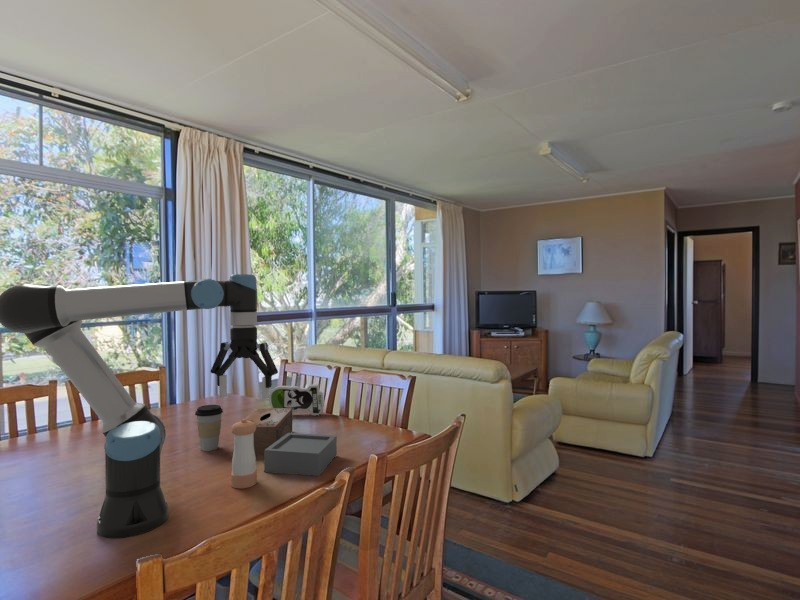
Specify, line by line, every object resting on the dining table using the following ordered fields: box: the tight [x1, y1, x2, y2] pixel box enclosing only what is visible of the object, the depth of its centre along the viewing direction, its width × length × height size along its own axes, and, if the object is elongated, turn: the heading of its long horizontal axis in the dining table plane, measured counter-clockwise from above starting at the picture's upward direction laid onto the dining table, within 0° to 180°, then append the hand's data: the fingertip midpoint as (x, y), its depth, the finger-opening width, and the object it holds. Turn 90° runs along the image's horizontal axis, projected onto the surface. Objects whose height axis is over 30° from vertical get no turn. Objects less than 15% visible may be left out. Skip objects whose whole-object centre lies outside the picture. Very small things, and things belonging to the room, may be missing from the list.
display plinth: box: [263, 432, 338, 477], centre depth 150 cm, size 18×18×7 cm
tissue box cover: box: [243, 407, 293, 455], centre depth 172 cm, size 26×14×10 cm, turn 0°
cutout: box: [268, 383, 325, 416], centre depth 210 cm, size 15×3×25 cm
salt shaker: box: [230, 418, 258, 489], centre depth 134 cm, size 7×7×19 cm
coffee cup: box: [194, 404, 224, 452], centre depth 165 cm, size 9×9×15 cm
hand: (244, 397), depth 134 cm, fingers open, 13 cm apart
